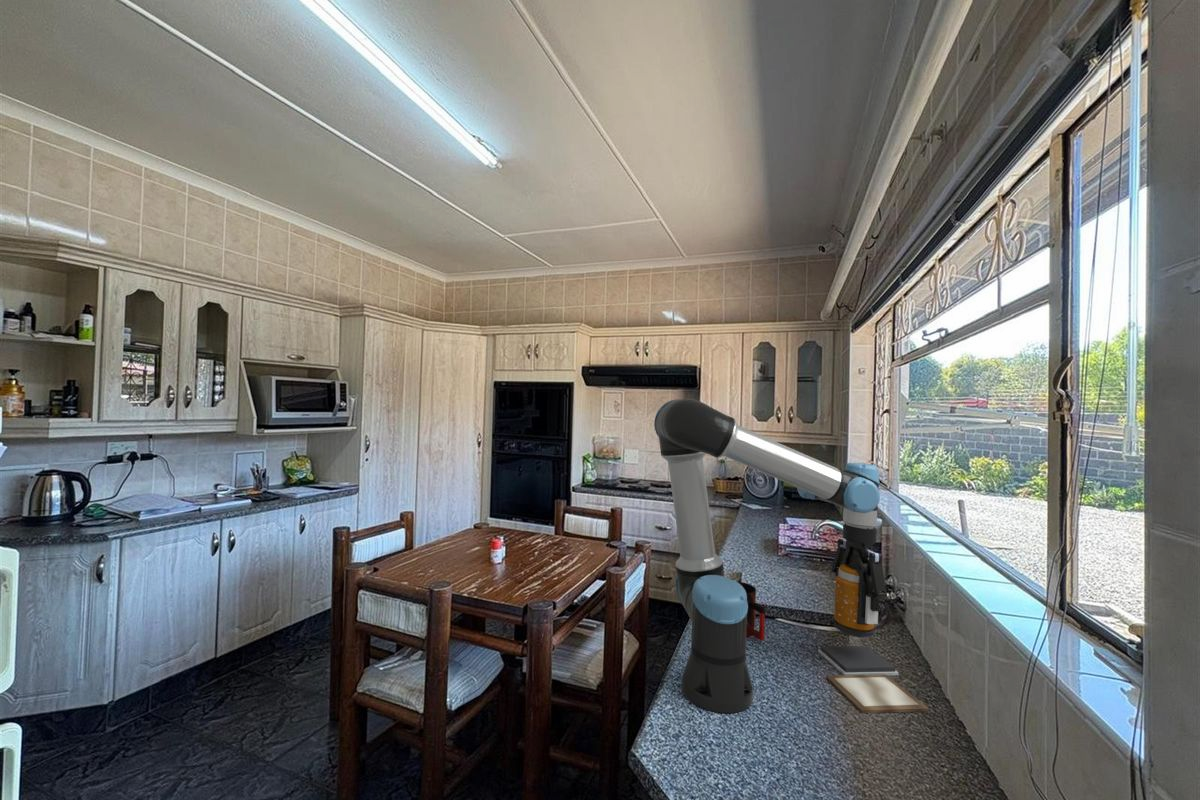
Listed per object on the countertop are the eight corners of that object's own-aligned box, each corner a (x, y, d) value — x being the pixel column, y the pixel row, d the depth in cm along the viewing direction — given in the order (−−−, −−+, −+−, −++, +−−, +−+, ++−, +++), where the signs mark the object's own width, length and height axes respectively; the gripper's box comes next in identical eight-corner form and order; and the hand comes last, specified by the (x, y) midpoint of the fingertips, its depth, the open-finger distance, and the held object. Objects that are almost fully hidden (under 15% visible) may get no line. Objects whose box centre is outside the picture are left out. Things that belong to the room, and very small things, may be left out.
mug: (763, 646, 127) (764, 600, 127) (714, 630, 135) (715, 587, 135) (774, 633, 134) (775, 590, 135) (727, 619, 143) (728, 578, 143)
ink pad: (845, 676, 113) (845, 669, 113) (817, 651, 125) (818, 645, 125) (898, 675, 114) (898, 668, 114) (866, 651, 126) (867, 644, 126)
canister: (863, 625, 125) (867, 548, 125) (884, 645, 114) (888, 561, 114) (828, 622, 126) (831, 545, 126) (845, 641, 115) (849, 557, 115)
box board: (862, 713, 99) (862, 709, 99) (826, 678, 112) (826, 675, 112) (929, 711, 100) (929, 708, 100) (885, 677, 113) (885, 674, 113)
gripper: (908, 537, 109) (904, 635, 109) (845, 515, 132) (841, 595, 132) (877, 536, 108) (873, 634, 108) (819, 514, 132) (816, 594, 131)
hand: (855, 613), depth 120 cm, fingers closed on canister, 11 cm apart
